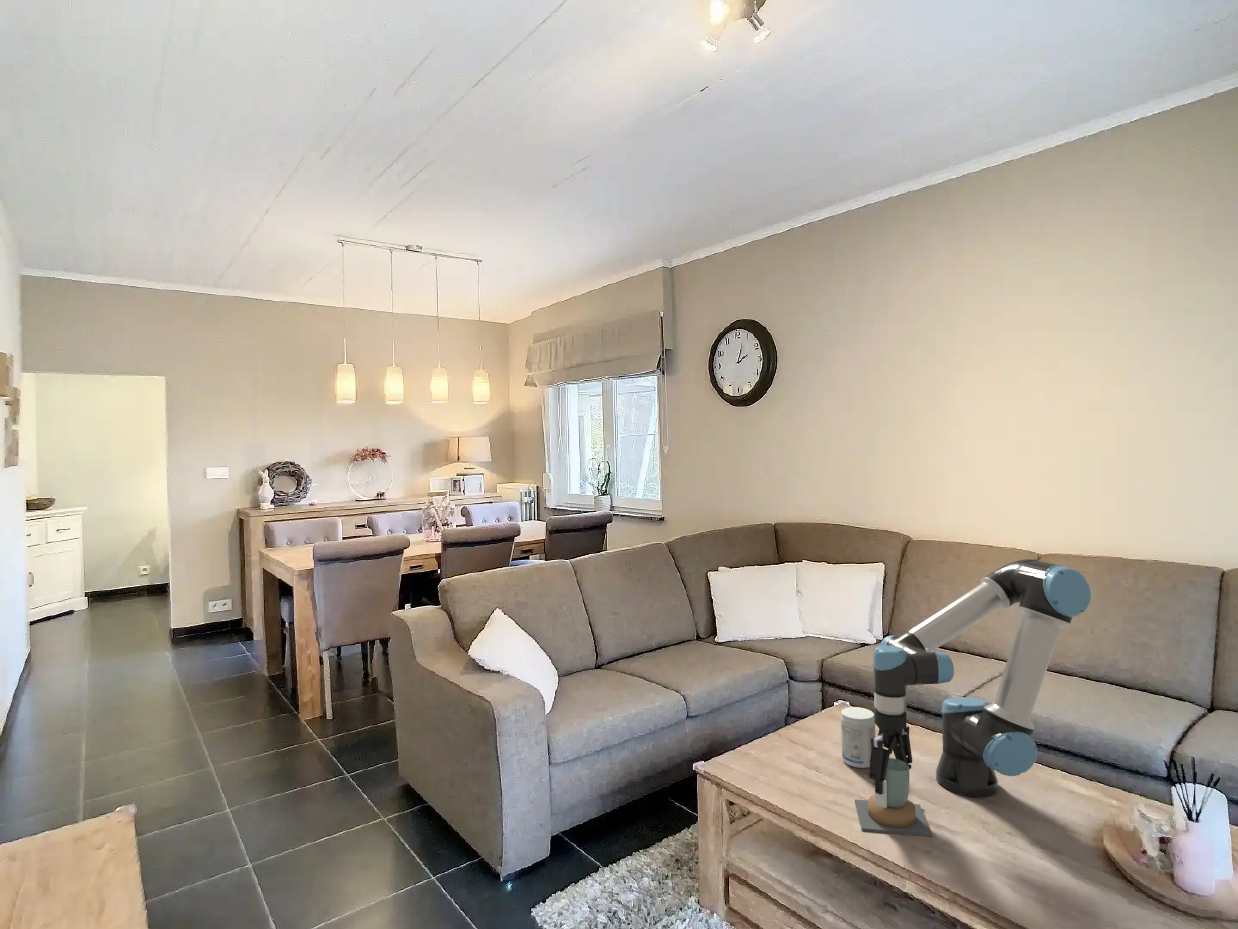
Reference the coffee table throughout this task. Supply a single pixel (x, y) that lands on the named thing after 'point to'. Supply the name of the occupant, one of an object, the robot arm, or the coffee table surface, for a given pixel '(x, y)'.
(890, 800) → the cup
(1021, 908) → the coffee table surface
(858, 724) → the supplement tub
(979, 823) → the coffee table surface
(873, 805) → the stand
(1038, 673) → the robot arm
